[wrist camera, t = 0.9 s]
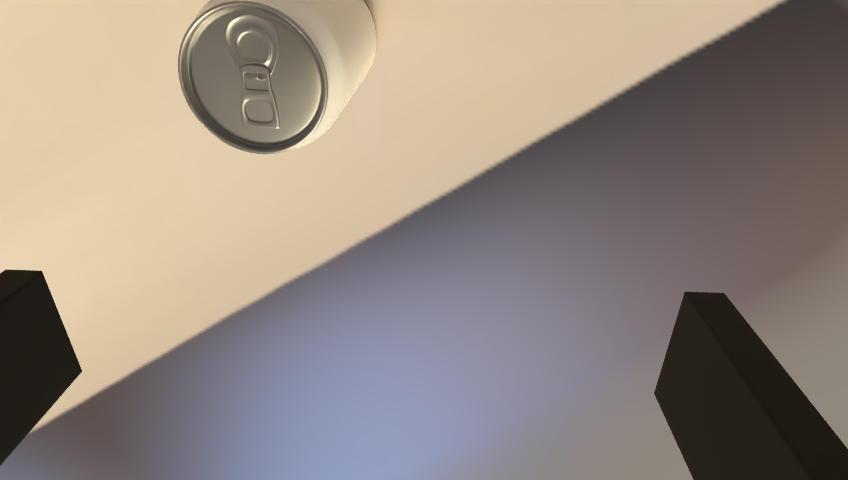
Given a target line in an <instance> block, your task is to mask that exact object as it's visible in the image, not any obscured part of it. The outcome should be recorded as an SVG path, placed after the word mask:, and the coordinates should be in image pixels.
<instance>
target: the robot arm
mask: <svg viewBox="0 0 848 480" xmlns="http://www.w3.org/2000/svg"><path fill="white" fill-rule="evenodd" d="M81 372H82V370H81V367H80V365H79V362H78V360H77V357H76V355H75V352H74V350H73V347H72V345H71V342H70V340H69V337H68V335H67V332H66V330H65V327H64V325H63V322H62V320H61V318H60V315H59V313H58V310H57V308H56V305H55V303H54V300H53V298H52V295H51V293H50V290H49V288H48V285H47V283H46V280H45V278H44V275H43V273H42V271H30V270H5V271H3V272H2V273H1V274H0V465H1V464H2V463H3V462H4V461H5V459H6V458H7V457H8V456H9V455H10V454H11V453H12V451H13V450H14V449H15V448H16V447H17V446H18V445H19V443H20V442H21V441H22V440H23V439H24V438H25V436H26V435H27V434H28V433H29V432H30V431H31V430H32V428H33V427H34V426H35V425H36V424H37V423H38V421H39V420H40V419H41V418H42V417H43V416H44V415H45V413H46V412H47V411H48V410H49V409H50V408H51V407H52V405H53V404H54V403H55V402H56V401H57V400H58V398H59V397H60V396H61V395H62V394H63V393H64V392H65V390H66V389H67V388H68V387H69V386H70V385H71V383H72V382H73V381H74V380H75V379H76V378H77V377H78V375H79V374H80V373H81ZM654 394H655V396H656V398H657V401H658V403H659V405H660V407H661V410H662V412H663V414H664V416H665V418H666V420H667V423H668V425H669V427H670V429H671V431H672V434H673V435H674V438H675V440H676V442H677V444H678V447H679V449H680V451H681V453H682V455H683V457H684V459H685V462H686V464H687V466H688V468H689V471H690V473H691V475H692V477H693V479H694V480H848V449H847V448H846V446H845V445H844V444H843V443H842V441H841V440H840V439H839V438H838V436H837V435H836V434H835V432H834V431H833V430H832V429H831V427H830V426H829V425H828V424H827V422H826V421H825V420H824V419H823V417H822V416H821V415H820V413H819V412H818V411H817V410H816V408H815V407H814V406H813V405H812V404H811V402H810V401H809V400H808V398H807V397H806V396H805V395H804V393H803V392H802V391H801V390H800V388H799V387H798V386H797V385H796V383H795V382H794V381H793V379H792V378H791V377H790V376H789V374H788V373H787V372H786V371H785V369H784V368H783V367H782V366H781V364H780V363H779V362H778V361H777V359H776V358H775V357H774V356H773V354H772V353H771V352H770V351H769V349H768V348H767V347H766V345H765V344H764V343H763V342H762V340H761V339H760V338H759V337H758V336H757V334H756V333H755V332H754V330H753V329H752V328H751V327H750V325H749V324H748V323H747V322H746V320H745V319H744V318H743V316H742V315H741V314H740V313H739V312H738V310H737V309H736V308H735V306H734V305H733V304H732V303H731V301H730V300H729V299H728V298H727V296H726V295H725V294H724V293H706V292H705V293H704V292H685V293H684V296H683V300H682V303H681V306H680V309H679V313H678V316H677V320H676V323H675V326H674V329H673V333H672V336H671V339H670V343H669V346H668V349H667V352H666V356H665V359H664V362H663V366H662V369H661V372H660V376H659V379H658V382H657V386H656V389H655V392H654Z"/></svg>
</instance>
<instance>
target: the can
mask: <svg viewBox="0 0 848 480" xmlns="http://www.w3.org/2000/svg"><path fill="white" fill-rule="evenodd" d="M375 51H376V30H375V25H374V21H373V18H372V16H371V13H370V11H369V9H368V7H367V5H366V4H365V2H364V1H363V0H211V1H209V2H208V3H207V4H206V5H205V6H204V7H203V8H202V10H201V11H200V12H199V13H198V15H197V16H196V18H195V20H194V21H193V23H192V24H191V25H190V27H189V28H188V30H187V31H186V33H185V35H184V38H183V40H182V43H181V46H180V51H179V57H178V72H179V79H180V84H181V88H182V91H183V94H184V96H185V99H186V101H187V103H188V105H189V107H190V108H191V110H192V112H193V113H194V115H195V116H196V117H197V119H198V120H199V121H200V122H201V124H202V125H203V126H204V127H205V128H206V129H207V130H208V131H209V132H211V133H212V134H213V135H214V136H216V137H217V138H218V139H220V140H221V141H223V142H225V143H226V144H228V145H230V146H232V147H235V148H237V149H240V150H243V151H246V152H250V153H257V154H274V153H280V152H284V151H287V150H290V149H295V148H298V147H301V146H304V145H306V144H308V143H310V142H312V141H314V140H315V139H317V138H318V137H320V136H321V135H322V134H323V133H324V132H325V131H327V129H328V128H329V127H330V126H331V125H332V124H333V123H334V121H335V120H336V119H337V117H338V116H339V114H340V113H341V112H342V110H343V109H344V107H345V106H346V104H347V103H348V101H349V100H350V98H351V97H352V96H353V94H354V93H355V91H356V90H357V88H358V87H359V85H360V83H361V82H362V80H363V79H364V77H365V76H366V74H367V72H368V71H369V69H370V67H371V65H372V62H373V59H374V56H375Z"/></svg>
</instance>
